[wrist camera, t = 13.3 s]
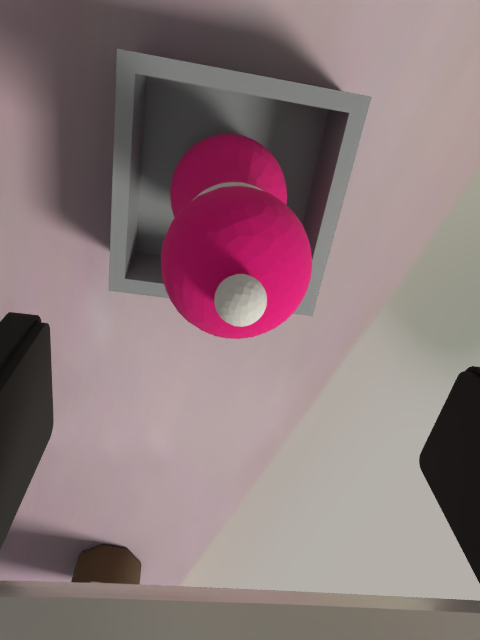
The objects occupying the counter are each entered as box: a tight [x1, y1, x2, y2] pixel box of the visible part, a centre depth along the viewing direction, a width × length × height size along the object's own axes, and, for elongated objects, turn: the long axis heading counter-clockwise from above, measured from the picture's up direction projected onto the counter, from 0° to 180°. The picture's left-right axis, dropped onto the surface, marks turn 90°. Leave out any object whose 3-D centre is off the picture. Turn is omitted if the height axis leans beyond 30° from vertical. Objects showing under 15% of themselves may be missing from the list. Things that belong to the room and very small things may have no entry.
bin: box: [109, 49, 371, 316], centre depth 30 cm, size 14×14×6 cm
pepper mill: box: [161, 134, 312, 339], centre depth 23 cm, size 7×7×20 cm
